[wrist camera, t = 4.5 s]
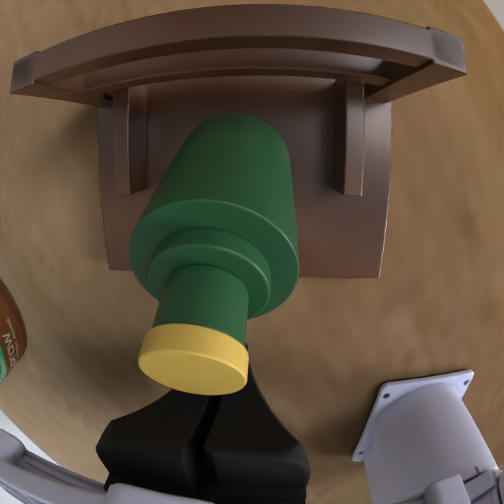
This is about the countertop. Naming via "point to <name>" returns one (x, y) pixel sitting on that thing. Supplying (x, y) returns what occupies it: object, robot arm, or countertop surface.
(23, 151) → the countertop surface
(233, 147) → the bottle
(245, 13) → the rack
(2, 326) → the food container
